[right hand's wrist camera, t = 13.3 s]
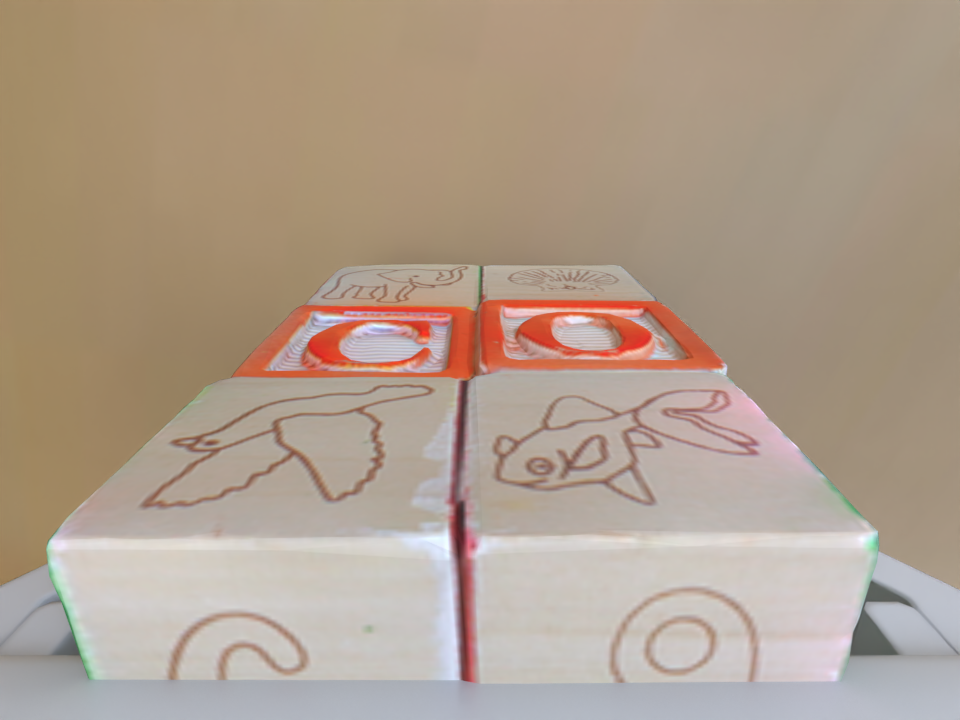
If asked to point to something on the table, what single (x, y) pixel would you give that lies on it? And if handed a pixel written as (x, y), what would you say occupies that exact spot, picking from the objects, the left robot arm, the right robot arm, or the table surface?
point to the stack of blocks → (469, 503)
